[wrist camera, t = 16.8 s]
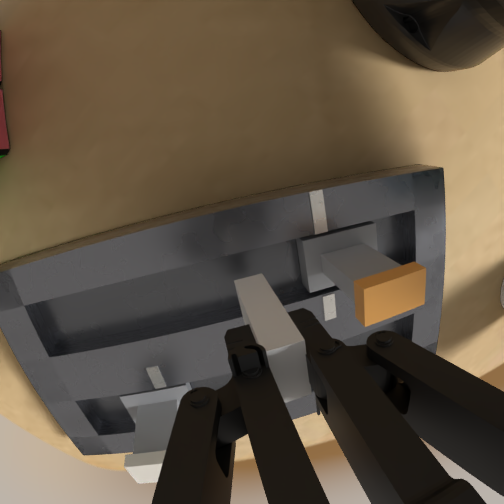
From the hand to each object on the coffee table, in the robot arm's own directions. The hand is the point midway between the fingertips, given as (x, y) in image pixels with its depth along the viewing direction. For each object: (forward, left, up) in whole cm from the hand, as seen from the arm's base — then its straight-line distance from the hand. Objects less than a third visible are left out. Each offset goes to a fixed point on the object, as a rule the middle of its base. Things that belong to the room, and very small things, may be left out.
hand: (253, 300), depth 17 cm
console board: (+4, -1, -5) cm, 6 cm away
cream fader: (+8, -8, -3) cm, 12 cm away
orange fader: (0, +6, -3) cm, 7 cm away
